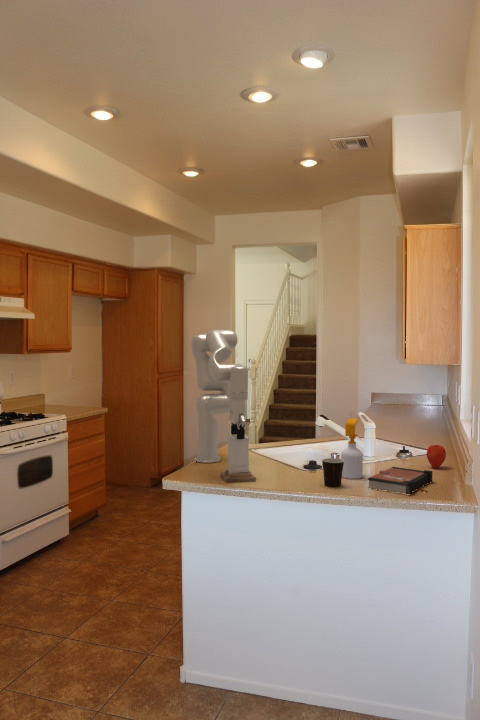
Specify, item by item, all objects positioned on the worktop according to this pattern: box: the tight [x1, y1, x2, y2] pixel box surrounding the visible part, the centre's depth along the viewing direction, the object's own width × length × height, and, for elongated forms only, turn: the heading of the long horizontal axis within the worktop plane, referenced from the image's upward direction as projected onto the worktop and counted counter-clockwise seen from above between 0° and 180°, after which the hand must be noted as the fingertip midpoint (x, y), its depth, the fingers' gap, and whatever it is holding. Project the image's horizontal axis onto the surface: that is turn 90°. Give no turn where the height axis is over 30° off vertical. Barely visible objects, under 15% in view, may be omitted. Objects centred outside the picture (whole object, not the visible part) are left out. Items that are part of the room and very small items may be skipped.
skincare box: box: [227, 434, 250, 473], centre depth 246 cm, size 8×6×15 cm
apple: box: [426, 444, 447, 469], centre depth 270 cm, size 9×8×11 cm
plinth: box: [220, 469, 257, 484], centre depth 246 cm, size 12×12×3 cm
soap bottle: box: [340, 417, 364, 480], centre depth 251 cm, size 9×9×25 cm
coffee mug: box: [321, 457, 344, 488], centre depth 235 cm, size 12×9×10 cm
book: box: [367, 466, 433, 495], centre depth 239 cm, size 26×18×5 cm
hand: (237, 436), depth 246 cm, fingers open, 9 cm apart
